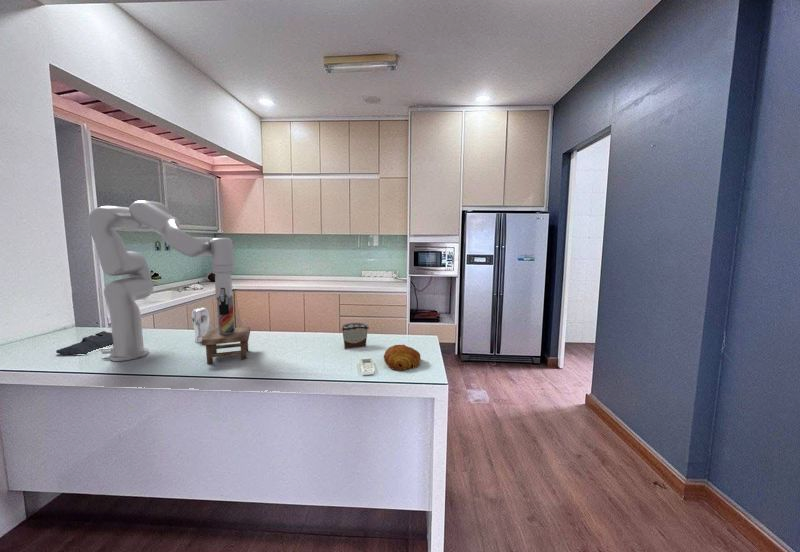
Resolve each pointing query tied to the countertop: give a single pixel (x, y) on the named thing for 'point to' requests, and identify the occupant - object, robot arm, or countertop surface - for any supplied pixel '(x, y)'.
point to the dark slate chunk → (89, 344)
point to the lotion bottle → (226, 319)
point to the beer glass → (200, 323)
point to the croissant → (401, 357)
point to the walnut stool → (215, 338)
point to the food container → (354, 335)
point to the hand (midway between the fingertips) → (226, 311)
